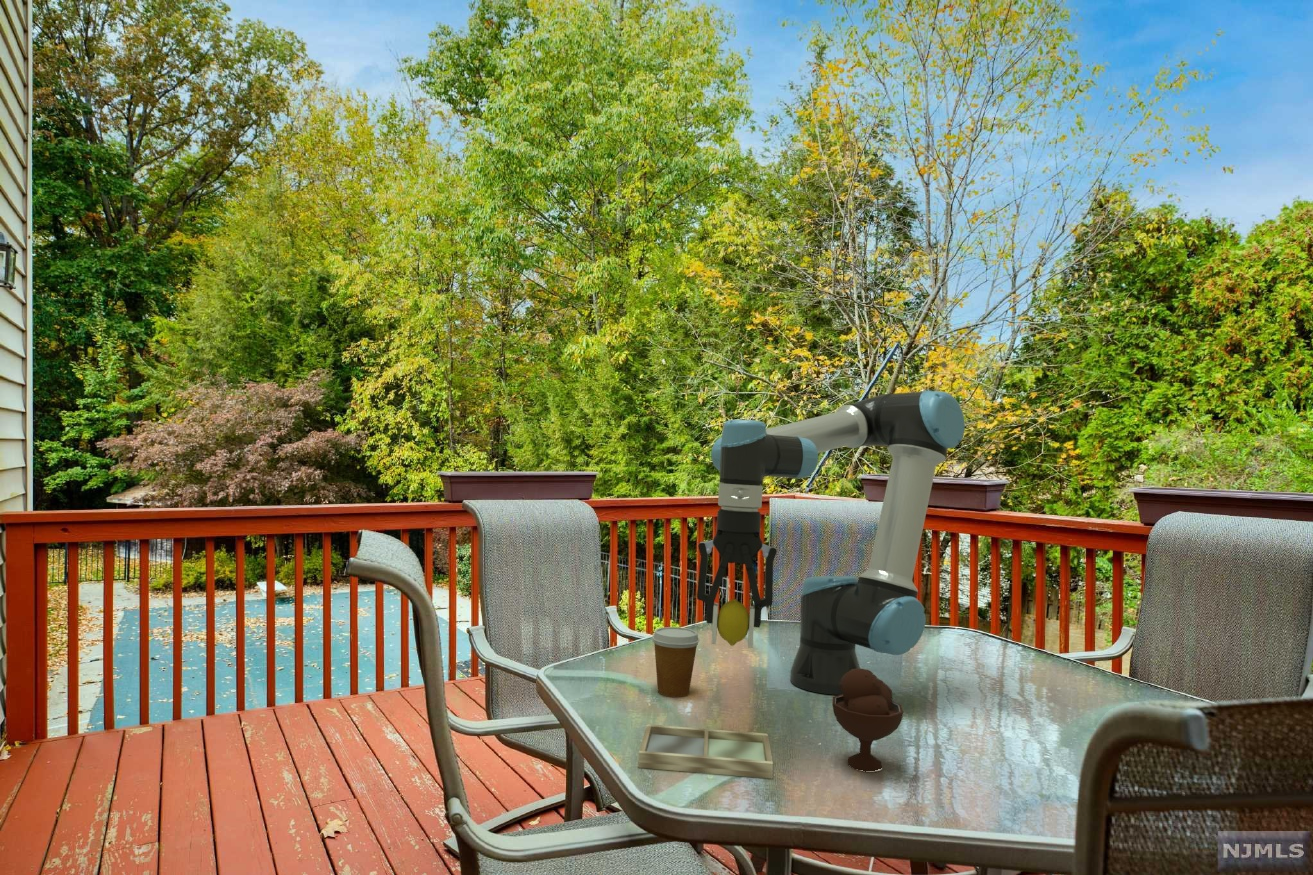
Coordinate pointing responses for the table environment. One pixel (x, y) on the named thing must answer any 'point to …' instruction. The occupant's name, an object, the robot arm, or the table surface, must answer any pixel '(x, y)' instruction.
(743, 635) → the lemon
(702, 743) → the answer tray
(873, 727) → the ice cream bowl
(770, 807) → the table surface
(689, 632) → the disposable coffee cup
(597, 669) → the table surface
